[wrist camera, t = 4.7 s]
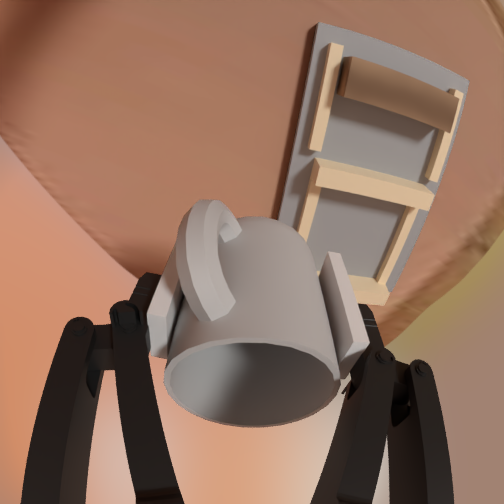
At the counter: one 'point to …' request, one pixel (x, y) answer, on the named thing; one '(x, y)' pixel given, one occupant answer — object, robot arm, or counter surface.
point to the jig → (364, 164)
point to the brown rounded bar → (396, 93)
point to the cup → (248, 322)
